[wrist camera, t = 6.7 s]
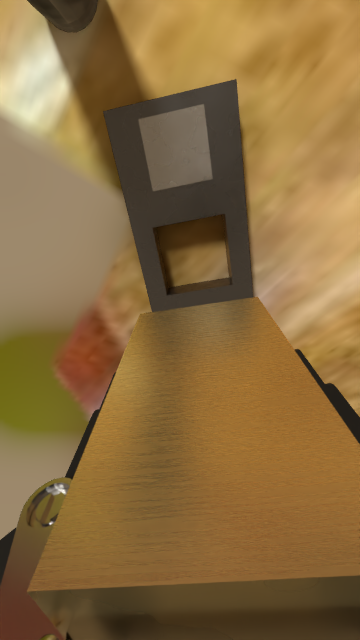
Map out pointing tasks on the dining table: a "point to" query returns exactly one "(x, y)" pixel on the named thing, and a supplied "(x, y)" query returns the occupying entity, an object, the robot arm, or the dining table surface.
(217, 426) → the brass block
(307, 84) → the dining table surface
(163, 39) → the dining table surface
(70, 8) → the beverage cup
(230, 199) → the dark grey flat block
